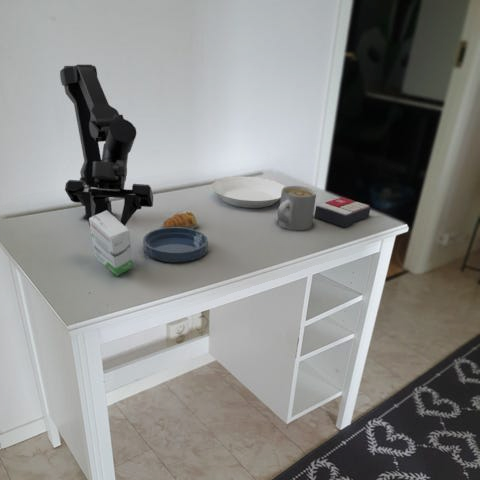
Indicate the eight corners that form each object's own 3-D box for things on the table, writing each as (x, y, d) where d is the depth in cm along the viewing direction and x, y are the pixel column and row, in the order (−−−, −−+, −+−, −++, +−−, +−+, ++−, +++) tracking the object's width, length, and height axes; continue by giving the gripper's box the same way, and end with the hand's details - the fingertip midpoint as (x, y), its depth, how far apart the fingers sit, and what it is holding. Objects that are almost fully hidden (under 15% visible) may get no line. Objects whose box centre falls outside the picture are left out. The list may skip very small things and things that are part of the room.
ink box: (133, 267, 115) (131, 229, 106) (116, 277, 112) (111, 239, 103) (111, 246, 118) (106, 208, 109) (93, 255, 115) (87, 217, 106)
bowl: (277, 216, 150) (278, 205, 148) (200, 204, 155) (200, 193, 153) (292, 192, 171) (294, 182, 169) (224, 182, 176) (224, 172, 174)
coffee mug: (295, 215, 152) (299, 183, 147) (318, 226, 146) (323, 193, 140) (262, 223, 145) (265, 190, 139) (285, 235, 138) (289, 201, 133)
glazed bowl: (134, 259, 120) (133, 247, 119) (156, 234, 134) (155, 223, 132) (198, 267, 118) (198, 256, 117) (213, 241, 132) (214, 231, 130)
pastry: (171, 235, 134) (170, 221, 132) (158, 227, 138) (157, 214, 136) (199, 228, 139) (199, 215, 137) (186, 220, 144) (186, 208, 142)
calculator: (371, 204, 153) (346, 213, 143) (368, 218, 155) (343, 227, 145) (341, 195, 159) (315, 203, 149) (339, 208, 161) (313, 217, 151)
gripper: (62, 142, 105) (51, 208, 101) (149, 147, 105) (142, 213, 101) (76, 170, 116) (67, 231, 112) (156, 175, 116) (150, 236, 112)
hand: (106, 227), depth 109 cm, fingers closed on ink box, 6 cm apart
